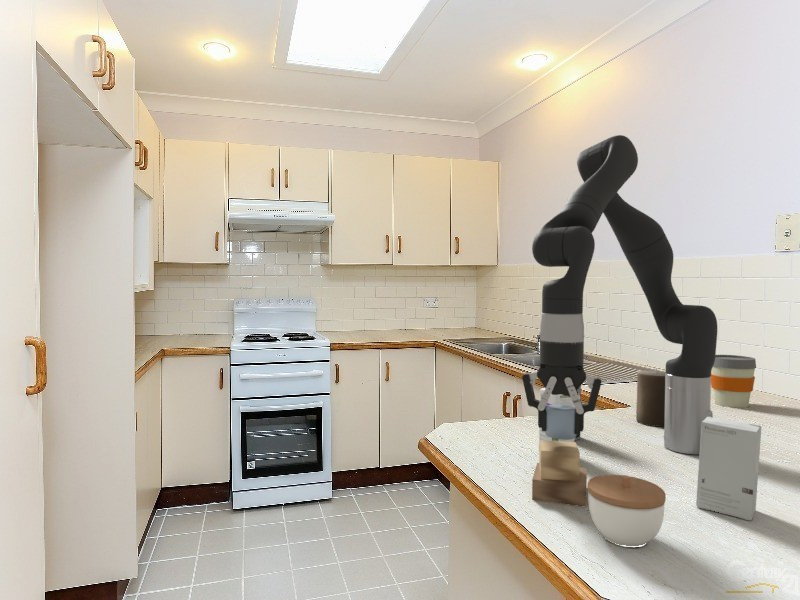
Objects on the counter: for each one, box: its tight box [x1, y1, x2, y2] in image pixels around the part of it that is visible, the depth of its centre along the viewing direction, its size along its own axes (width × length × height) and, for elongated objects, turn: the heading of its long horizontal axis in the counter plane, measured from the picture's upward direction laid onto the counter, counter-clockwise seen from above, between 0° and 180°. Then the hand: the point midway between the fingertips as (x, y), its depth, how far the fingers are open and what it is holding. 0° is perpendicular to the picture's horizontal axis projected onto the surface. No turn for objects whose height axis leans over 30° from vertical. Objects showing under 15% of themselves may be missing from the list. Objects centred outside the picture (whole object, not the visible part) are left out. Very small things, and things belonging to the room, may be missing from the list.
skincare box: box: [695, 416, 762, 521], centre depth 88 cm, size 8×6×15 cm
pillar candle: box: [635, 367, 666, 428], centre depth 144 cm, size 10×10×15 cm
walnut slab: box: [531, 462, 588, 507], centre depth 95 cm, size 9×9×4 cm
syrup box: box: [538, 387, 576, 442], centre depth 117 cm, size 6×6×14 cm
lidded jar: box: [587, 474, 666, 546], centre depth 78 cm, size 11×11×9 cm
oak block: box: [538, 439, 581, 482], centre depth 95 cm, size 6×6×5 cm
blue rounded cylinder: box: [546, 405, 576, 440], centre depth 95 cm, size 5×5×5 cm
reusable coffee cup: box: [711, 354, 757, 409], centre depth 165 cm, size 12×13×15 cm
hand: (560, 431), depth 95 cm, fingers closed on blue rounded cylinder, 5 cm apart
